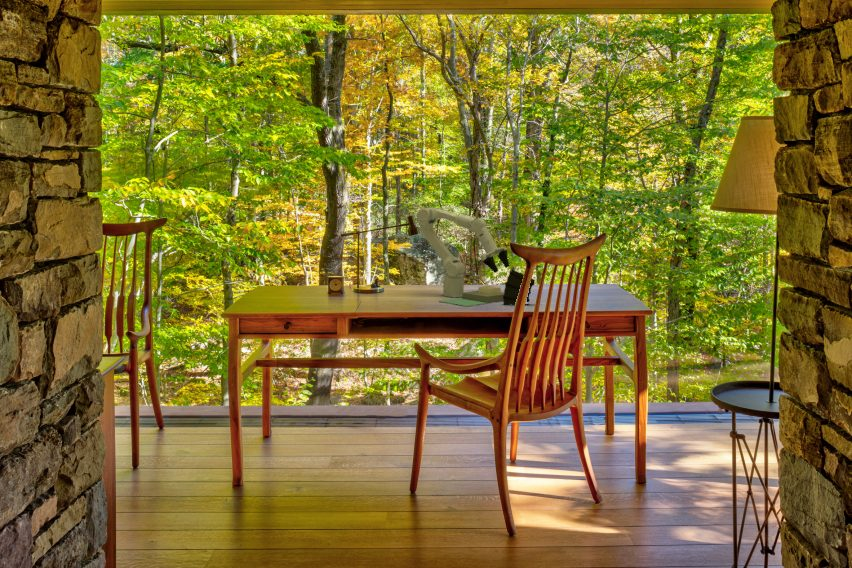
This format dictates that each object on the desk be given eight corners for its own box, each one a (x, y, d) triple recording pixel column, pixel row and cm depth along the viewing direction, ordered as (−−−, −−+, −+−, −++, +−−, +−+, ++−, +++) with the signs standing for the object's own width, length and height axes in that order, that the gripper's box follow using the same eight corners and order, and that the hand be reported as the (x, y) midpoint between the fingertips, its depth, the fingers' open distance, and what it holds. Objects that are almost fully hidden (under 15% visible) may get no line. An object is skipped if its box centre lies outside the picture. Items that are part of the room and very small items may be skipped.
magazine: (495, 299, 341) (511, 268, 339) (523, 313, 341) (539, 282, 338) (495, 301, 338) (511, 269, 335) (523, 314, 337) (539, 283, 335)
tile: (478, 292, 355) (478, 286, 354) (488, 291, 358) (488, 285, 358) (490, 294, 349) (490, 288, 348) (500, 292, 352) (500, 287, 352)
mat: (439, 301, 347) (439, 300, 347) (459, 299, 354) (459, 298, 354) (466, 306, 333) (466, 305, 333) (487, 303, 341) (487, 302, 341)
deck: (462, 299, 354) (462, 292, 354) (485, 296, 363) (485, 289, 363) (487, 303, 342) (487, 296, 342) (510, 300, 351) (510, 293, 350)
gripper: (481, 244, 347) (496, 271, 345) (503, 234, 356) (518, 261, 354) (472, 250, 352) (487, 277, 351) (494, 241, 361) (508, 267, 360)
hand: (502, 269), depth 353 cm, fingers open, 7 cm apart
